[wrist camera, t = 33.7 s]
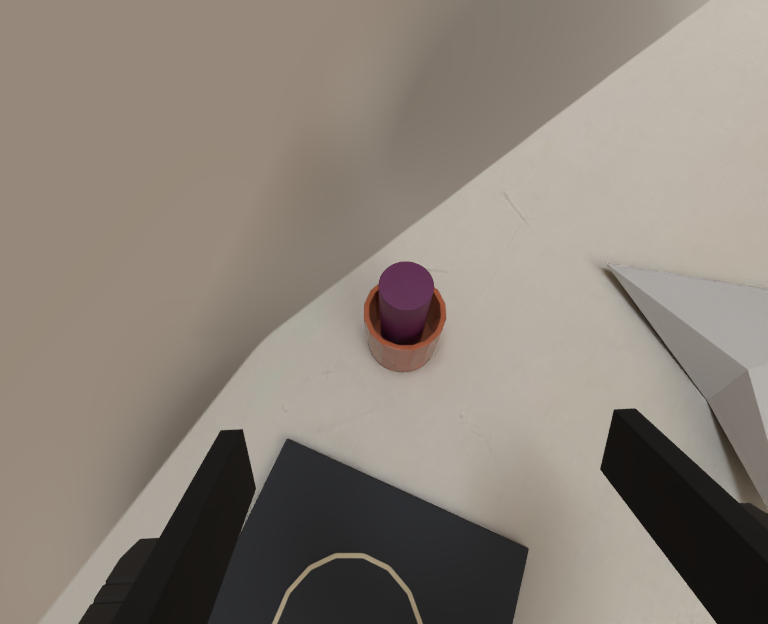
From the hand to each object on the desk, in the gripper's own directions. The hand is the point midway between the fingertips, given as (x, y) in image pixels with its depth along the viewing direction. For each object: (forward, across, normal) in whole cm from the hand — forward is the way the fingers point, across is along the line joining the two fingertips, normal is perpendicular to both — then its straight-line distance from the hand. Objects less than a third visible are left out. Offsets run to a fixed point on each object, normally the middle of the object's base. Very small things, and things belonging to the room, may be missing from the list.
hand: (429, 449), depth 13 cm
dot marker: (+20, 0, -5) cm, 20 cm away
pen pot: (+20, 0, -5) cm, 21 cm away
